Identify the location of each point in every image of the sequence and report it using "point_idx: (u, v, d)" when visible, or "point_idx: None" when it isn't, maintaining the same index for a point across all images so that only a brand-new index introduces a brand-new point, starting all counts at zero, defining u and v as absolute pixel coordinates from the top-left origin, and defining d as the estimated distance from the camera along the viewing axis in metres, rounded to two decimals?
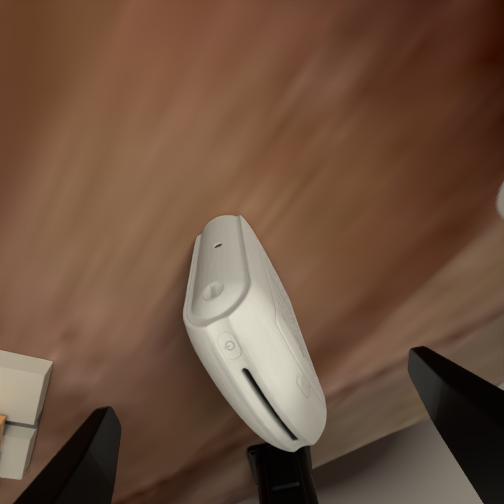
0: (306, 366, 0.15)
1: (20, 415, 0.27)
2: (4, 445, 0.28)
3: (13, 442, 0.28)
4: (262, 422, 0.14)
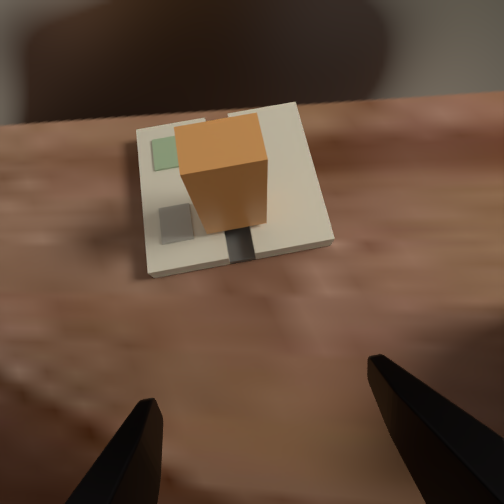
0: None
1: (264, 237, 0.24)
2: (208, 237, 0.24)
3: (216, 244, 0.24)
4: None
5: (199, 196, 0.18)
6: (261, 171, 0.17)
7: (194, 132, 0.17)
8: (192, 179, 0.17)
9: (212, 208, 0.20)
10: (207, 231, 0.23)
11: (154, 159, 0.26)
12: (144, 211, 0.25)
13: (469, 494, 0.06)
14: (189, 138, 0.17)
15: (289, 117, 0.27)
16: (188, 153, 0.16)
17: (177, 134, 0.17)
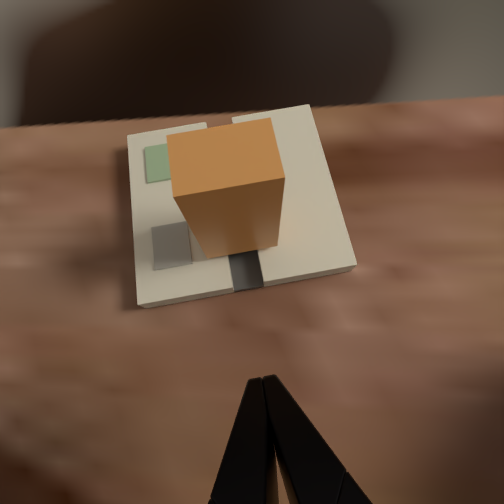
0: None
1: (275, 262, 0.20)
2: (208, 262, 0.21)
3: (218, 270, 0.20)
4: None
5: (198, 220, 0.15)
6: (276, 191, 0.14)
7: (192, 142, 0.13)
8: (189, 201, 0.13)
9: (214, 232, 0.16)
10: (208, 256, 0.20)
11: (147, 169, 0.23)
12: (134, 230, 0.21)
13: None
14: (185, 149, 0.13)
15: (302, 122, 0.24)
16: (183, 168, 0.13)
17: (170, 144, 0.13)
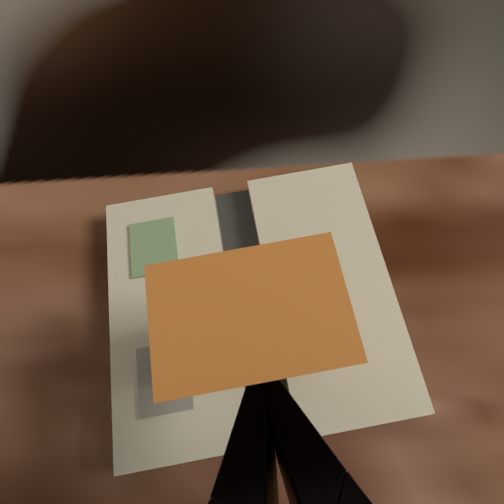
0: None
1: (314, 407, 0.14)
2: (218, 405, 0.14)
3: (232, 420, 0.14)
4: None
5: None
6: None
7: (190, 281, 0.07)
8: None
9: None
10: None
11: (132, 257, 0.17)
12: (112, 352, 0.15)
13: None
14: (179, 297, 0.07)
15: (344, 189, 0.18)
16: (175, 338, 0.07)
17: (151, 285, 0.07)
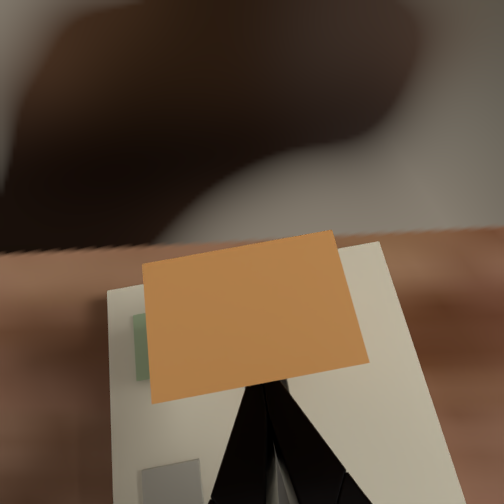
0: None
1: None
2: None
3: None
4: None
5: None
6: None
7: (189, 279, 0.07)
8: None
9: None
10: None
11: (136, 354, 0.15)
12: (115, 473, 0.13)
13: None
14: (177, 296, 0.07)
15: (371, 273, 0.16)
16: (173, 338, 0.07)
17: (150, 283, 0.07)
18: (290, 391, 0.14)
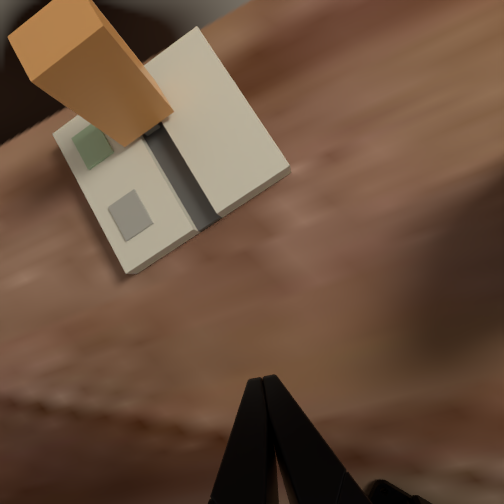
0: None
1: (220, 193, 0.22)
2: (166, 216, 0.23)
3: (176, 220, 0.23)
4: None
5: (75, 101, 0.18)
6: (110, 44, 0.16)
7: (27, 32, 0.16)
8: (48, 82, 0.16)
9: (101, 112, 0.20)
10: (122, 143, 0.23)
11: (82, 158, 0.25)
12: (97, 215, 0.24)
13: None
14: (25, 41, 0.16)
15: (197, 48, 0.24)
16: (30, 56, 0.16)
17: (13, 42, 0.16)
18: (171, 136, 0.23)
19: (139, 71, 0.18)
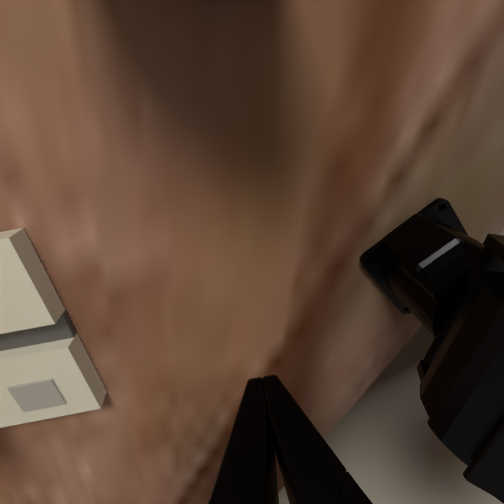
0: None
1: (30, 315, 0.20)
2: (46, 367, 0.21)
3: (53, 359, 0.21)
4: None
5: None
6: None
7: None
8: None
9: None
10: None
11: None
12: (31, 420, 0.23)
13: None
14: None
15: None
16: None
17: None
18: None
19: None
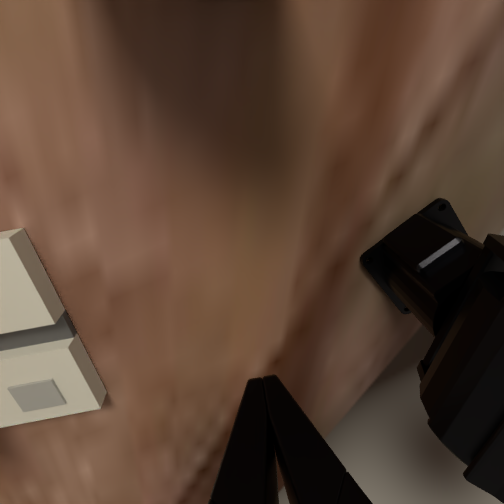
0: None
1: (30, 315, 0.20)
2: (46, 367, 0.21)
3: (53, 359, 0.21)
4: None
5: None
6: None
7: None
8: None
9: None
10: None
11: None
12: (31, 420, 0.23)
13: None
14: None
15: None
16: None
17: None
18: None
19: None
